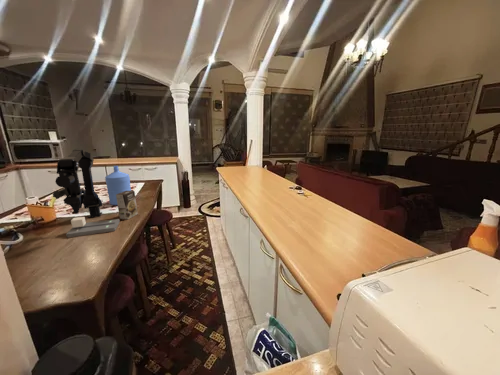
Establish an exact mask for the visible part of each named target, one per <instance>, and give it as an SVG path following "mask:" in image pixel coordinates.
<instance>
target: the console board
mask: <svg viewBox="0 0 500 375" xmlns="http://www.w3.org/2000/svg"><path fill="white" fill-rule="evenodd" d="M119 225H120V218H114V219H113V218H112V219H107V220H98V221H89V222H86V224H85V225H84V226H81V227H79V228H78V227H73V228H72V227H71V229H69V230H68V232H67V233H66V234H65V235H66V238H73V237H81V236H89V235H94V234H104V233H110V232H115V231H116V230H117V228H118V226H119Z"/></svg>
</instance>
